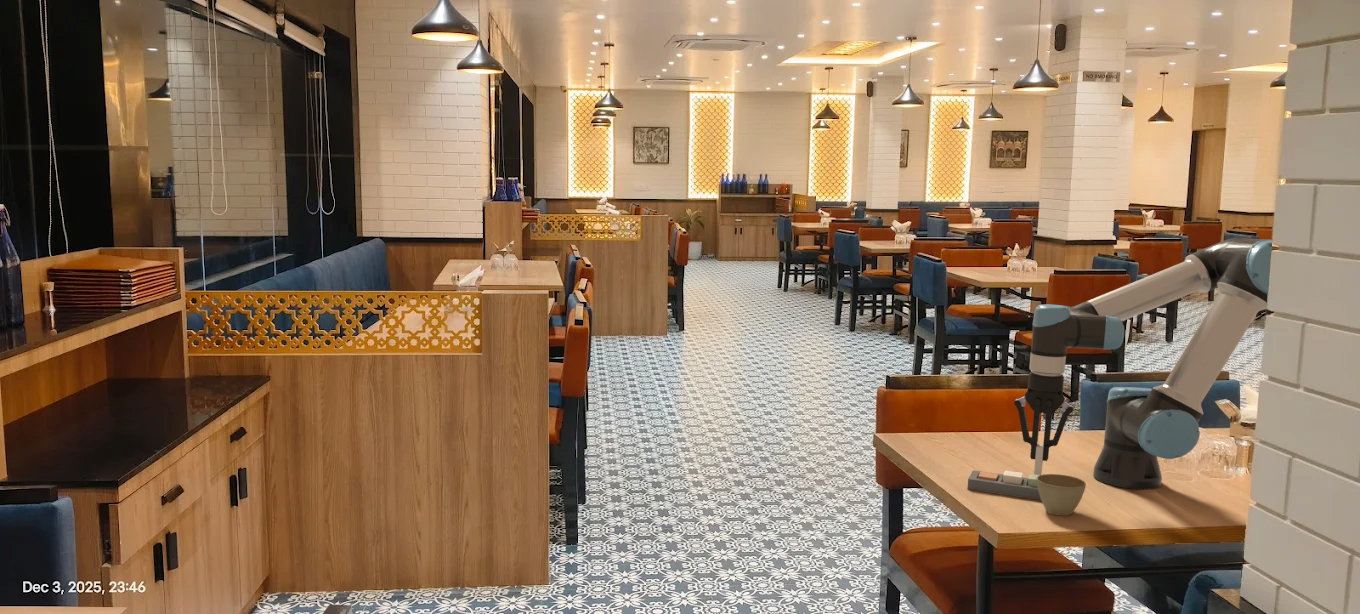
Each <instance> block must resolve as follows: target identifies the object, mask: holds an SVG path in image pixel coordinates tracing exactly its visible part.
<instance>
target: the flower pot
mask: <svg viewBox="0 0 1360 614" xmlns="http://www.w3.org/2000/svg"><path fill="white" fill-rule="evenodd" d="M1037 486H1038V491H1039V495H1040V498H1041V500H1040V501H1041V503H1042V505H1043V506H1044V508H1045V510H1046V512H1048V513H1049V514H1051V515H1056V516H1060V517H1061V516H1064V517H1066V516H1070V515H1072V514H1073V512H1074V511H1075V510H1076V508H1077V507H1079V504H1080V502H1081V500H1082V498H1083V495H1084V494H1085V490H1086V486H1087V483H1086V481H1084V480H1083V479H1081V478H1078V477H1076V476H1072V475H1066V474H1059V473H1058V474H1057V473H1056V474H1053V473H1047V474H1046V473H1045V474H1041V475H1039V476H1038V477H1037Z"/></svg>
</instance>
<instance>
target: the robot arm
mask: <svg viewBox="0 0 1360 614" xmlns="http://www.w3.org/2000/svg"><path fill="white" fill-rule="evenodd" d="M1272 240H1273V239H1270V238H1268V239H1262V238H1251V237H1242V236H1240V237H1232V238H1228V239H1225V240H1223V241H1219V242H1217V243H1215V244H1212V245H1209V246H1208V247H1205V248H1203V249H1200V250H1198V251H1195V252H1193V253H1190V254H1189V255H1187V256H1185V258H1184V261H1182V262H1180V263H1178V264H1175V265H1172V266H1170V267H1168V268H1165V269H1163V270H1160V271H1157V272H1156V273H1153V274H1150V275H1149V276H1146V277H1143V278H1141V279H1138V280H1135V281H1134V282H1130V283H1128V284H1126V285H1123V286H1121V287H1119V288H1116V289H1114V290H1111V291H1108V292H1106V293H1103V294H1101V295H1099V296H1096V297H1094V298H1092V299H1090V300H1089V299H1088V300H1087V301H1084V302H1081V303H1079V304H1076V305H1074V306H1070V305H1068V306H1067V305H1061V304H1060V305H1059V304H1051V303H1049V304H1047V303H1045V304H1039V305H1037V306H1036V307H1035V310H1034V314H1033V320H1032V330H1031V331H1032V333H1031V335H1032V336H1031V348H1030V355H1029V370H1030V372H1029V373H1028V380H1027V390H1026V391H1025V393H1024V396H1022V397H1020V398H1015V400H1014V406H1015V408H1016V409H1017V412H1018V416H1019V423H1020V430H1021V434H1022V440H1023V442H1024V443H1027V444H1029V445H1030V446H1031V447H1030V459H1031V460H1034V467H1033V468H1034V471H1033V475H1042V474H1043V473H1042V472H1043V464H1044V463H1043V462H1047V461H1048V460H1049V454H1050V448H1051V447H1057V446H1058V444H1059V442H1060V439H1061V436H1062V433H1063V430H1064V428H1065V425H1066V423H1067V419H1068V418H1069V416H1070V415H1071V414H1072V413H1073V411H1074V405H1072V404H1070V403H1068V402H1067V401H1066V400H1065V396H1064V391H1063V390H1064V384H1065V383H1064V382H1065V376H1064V375H1063V374H1064V373H1065V369H1066V359H1067V350H1068V349H1088V350H1089V349H1091V350H1102V351H1105V350H1117V349H1119V348H1120V347H1121V346H1122V345H1123V343H1124V338H1125V326H1124V324H1123V322H1124V321H1126V320H1129V319H1131V318H1133V317H1136V316H1139V315H1140V314H1144V313H1146V312H1149V311H1151V310H1153V309H1156V308H1158V307H1162V306H1164V305H1166V304H1169V303H1170V302H1174V301H1176V300H1178V299H1181V298H1184V297H1186V296H1189V295H1191V294H1193V293H1196V292H1198V291H1200V292H1202V293H1207V292H1210V291H1213V290H1215V289H1216V290H1217V289H1218V291H1219V292H1218V295H1217V297H1216V298H1215V300H1214V301H1213V303H1212V306H1210V308H1209V309H1208V311H1207V313H1206V315H1205V317H1204V318H1203V320H1202V321H1201V323H1200V324H1199V326H1198V328H1197V329H1196V331H1195V332H1194V334H1193V336H1192V338H1191V339H1190V341H1189V342H1188V344H1187V345H1186V347H1185V349H1184V351H1183V352H1182V354H1181V355H1180V357H1179V359H1178V361H1177V362H1176V364H1175V366H1173V369H1172V370H1171V371H1170V373H1169V375H1168V376H1167V378H1166V380H1165V382H1164V383H1163V384H1160V385H1156V386H1153V387H1152V388H1149V387H1131V386H1129V387H1128V386H1125V387H1124V386H1116V387H1115V386H1114V387H1111V388H1110V389H1109V391H1108V397H1107V399H1106V415H1105V427H1104V440H1103V446H1102V449H1101V451H1100V454H1099V456H1098V457H1097V460H1096V462H1095V464H1094V466H1093V478H1095V479H1096V480H1098V481H1099V482H1101V483H1104V484H1106V485H1110V486H1114V487H1118V488H1125V489H1131V490H1132V489H1133V490H1154V489H1159V488H1160V487H1161V486H1162V478H1163V475H1162V471H1161V467H1160V464H1159V460H1158V458H1161V459H1164V460H1172V459H1173V460H1174V459H1178V458H1181V457H1184V456H1186V455H1188V454H1190V452H1192V450H1194V449H1195V447H1197V446H1196V445H1198V442H1199V440H1200V435H1201V433H1200V425H1199V422H1200V420H1201V419H1202V417H1203V415H1204V411H1203V408H1202V403H1203V401H1204V399H1205V398H1206V396H1207V394H1208V393H1209V391H1210V389H1211V388H1212V386H1213V384H1214V383H1215V381H1216V380H1217V378H1218V377H1219V375H1220V374H1221V371H1222V370H1223V369H1224V367H1225V365H1226V364H1227V363H1228V361H1229V359H1230V357H1231V356H1232V354H1233V353H1234V351H1235V350H1236V348H1237V346H1238V344H1240V342H1241V340H1242V338H1243V337H1244V335H1245V333H1246V332H1247V330H1248V328H1249V327H1250V325H1251V324H1252V322H1253V320H1254V319H1255V317H1256V316H1257V314H1258V313H1259V312H1260V311H1264V310H1267V294H1268V283H1269V273H1270V257H1271V251H1272ZM1026 402H1027V403H1026ZM1026 404H1028V405H1029V407H1030V409H1031V410H1032V412H1033V422H1032V431H1031V436H1030V432H1029V427H1028V426H1029V425H1028V418H1027V412H1026V408H1025V407H1026ZM1061 406H1062V407H1061ZM1060 407H1061V412H1062V414H1061V416H1060V419H1059V422H1058V425H1057V428H1056V431H1055V433H1054V434H1053V435H1054V437H1053V438H1052V439H1051V434H1052V433H1051V431H1052V420H1053V414H1054V413H1055V412H1057V410H1058V409H1059V408H1060ZM1041 414H1045V421H1044V422H1045V423H1044V430H1043V431H1044V433H1043V444H1038V442H1039V431H1040V420H1041V419H1040V418H1041Z"/></svg>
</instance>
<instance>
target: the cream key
mask: <svg viewBox="0 0 1360 614" xmlns="http://www.w3.org/2000/svg"><path fill="white" fill-rule="evenodd" d="M1023 477H1024V472H1018V471H1017V472H1016V471H1012V470H1004V473H1003V482H1005V483H1012V484H1019V485H1022V480H1023Z"/></svg>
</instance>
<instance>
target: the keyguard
mask: <svg viewBox="0 0 1360 614" xmlns="http://www.w3.org/2000/svg"><path fill="white" fill-rule="evenodd" d="M980 472H983V471H982V470H974V469H973V470H972V471H971V473H970V475H969V477H968V478H967V490H971V491H978V492H986V493H991V494H992V493H993V494H1000V495H1007V496H1011V497H1019V498H1025V499H1033V500H1038V501H1042V500H1041V498H1040V495H1039V491H1038V487H1033V486H1028V478H1029V477H1024V476H1023V480H1022V485H1019V484H1012V483H1005V482H1003V474H1004V473H1003V474H1001V473H996V472H995V473H994V472H993V473H994V474H998V481H992V480H985V479H978V476H979V474H980ZM986 472H987V473H990V472H988V471H986Z"/></svg>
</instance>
